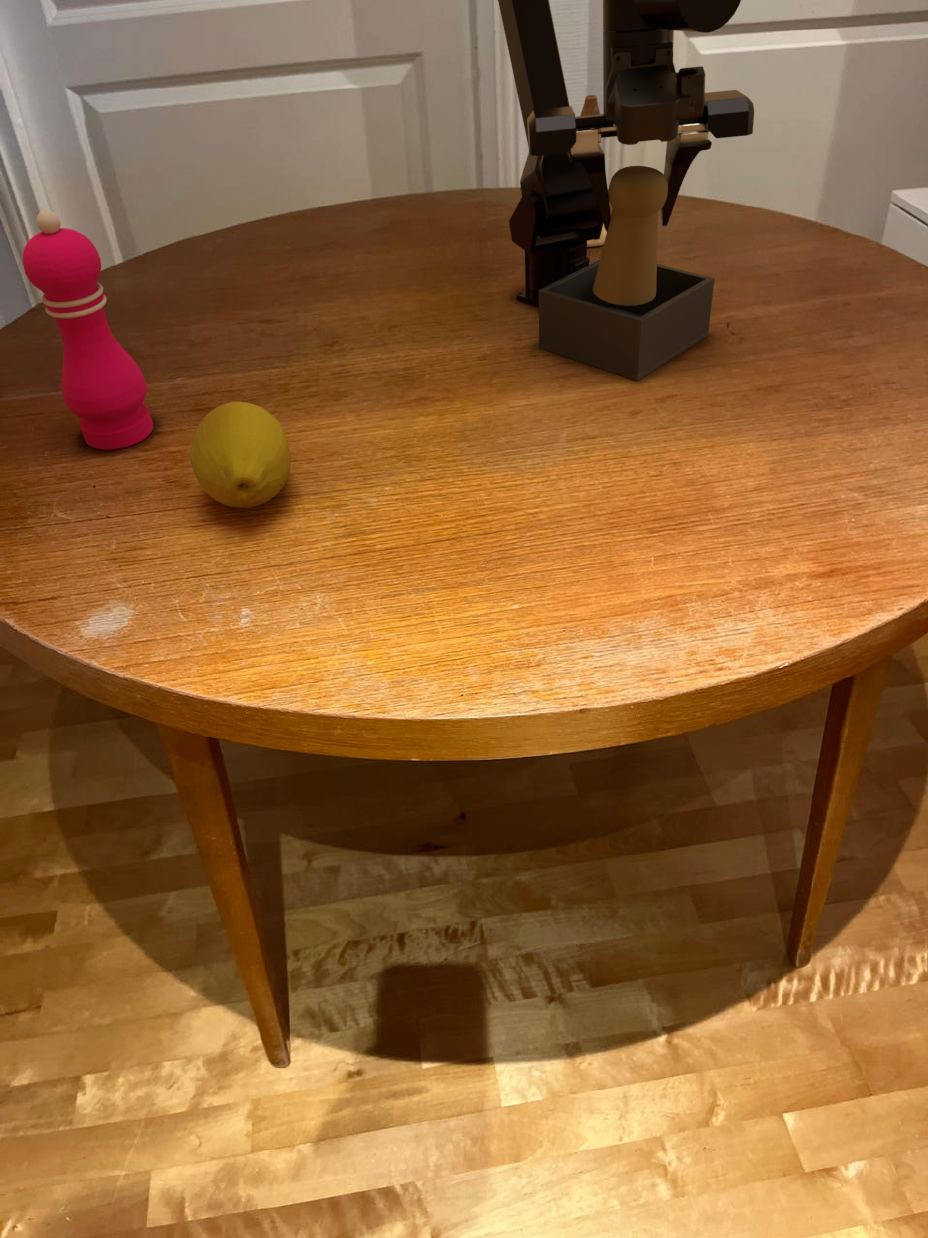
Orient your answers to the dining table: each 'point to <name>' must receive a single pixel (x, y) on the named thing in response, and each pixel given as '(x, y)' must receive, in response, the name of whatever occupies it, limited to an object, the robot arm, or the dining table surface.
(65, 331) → the pepper mill
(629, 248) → the cork
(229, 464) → the lemon
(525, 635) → the dining table surface
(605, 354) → the open box
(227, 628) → the dining table surface
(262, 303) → the dining table surface
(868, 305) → the dining table surface
